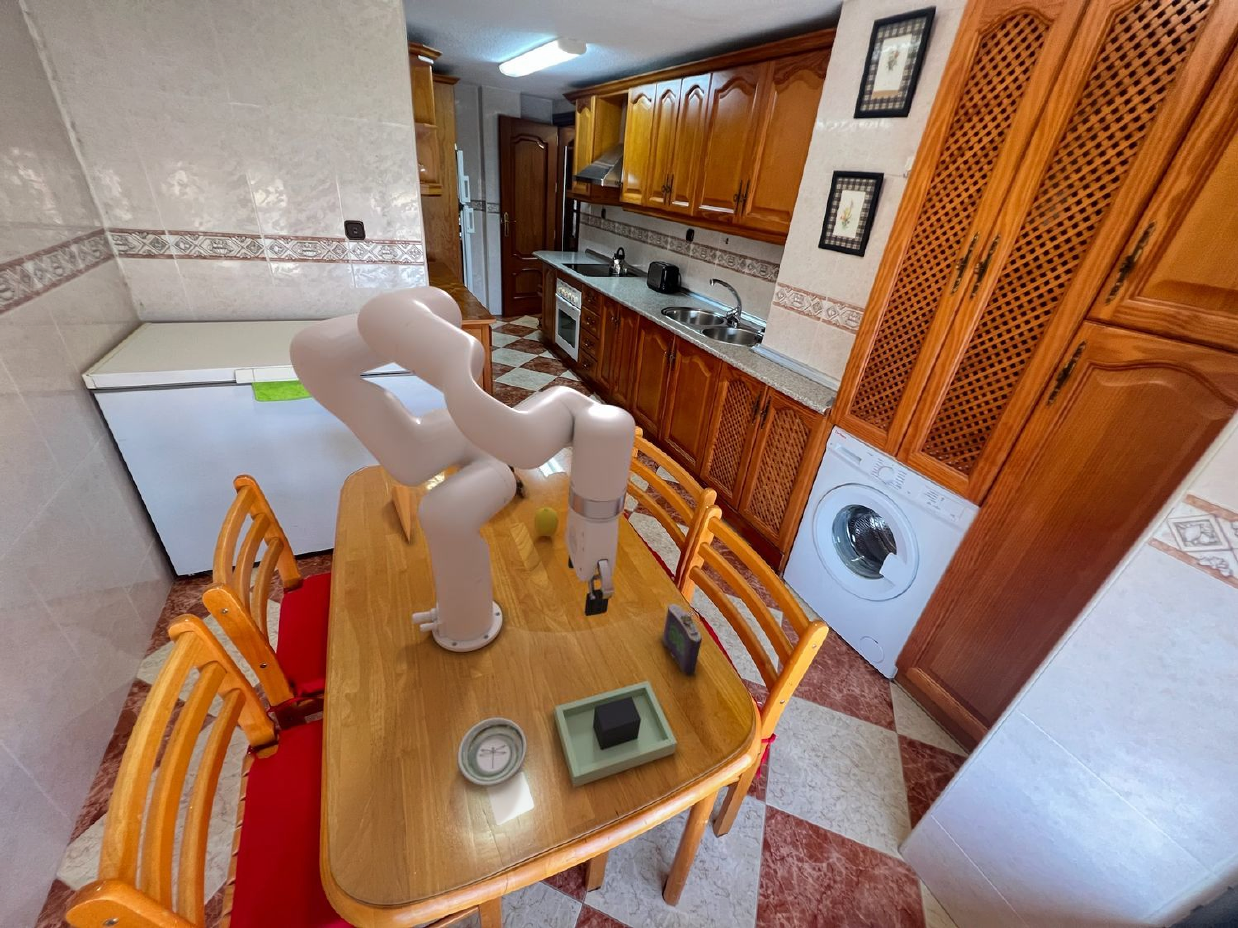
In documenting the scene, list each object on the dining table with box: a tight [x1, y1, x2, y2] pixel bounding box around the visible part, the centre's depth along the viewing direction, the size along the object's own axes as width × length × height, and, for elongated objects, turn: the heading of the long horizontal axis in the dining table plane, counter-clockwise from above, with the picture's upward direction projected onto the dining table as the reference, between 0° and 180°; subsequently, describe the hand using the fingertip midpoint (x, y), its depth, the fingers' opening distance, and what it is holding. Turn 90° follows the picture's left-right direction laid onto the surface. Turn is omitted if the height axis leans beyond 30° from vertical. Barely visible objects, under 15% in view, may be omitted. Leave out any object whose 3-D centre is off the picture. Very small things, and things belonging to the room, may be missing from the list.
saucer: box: [457, 717, 528, 787], centre depth 72 cm, size 10×10×2 cm
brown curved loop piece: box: [508, 465, 526, 498], centre depth 130 cm, size 12×10×8 cm
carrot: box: [390, 483, 412, 543], centre depth 117 cm, size 20×4×4 cm, turn 26°
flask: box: [661, 603, 703, 677], centre depth 88 cm, size 9×3×11 cm, turn 26°
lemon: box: [533, 506, 559, 537], centre depth 115 cm, size 6×6×8 cm
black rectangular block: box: [593, 696, 641, 750], centre depth 75 cm, size 6×4×5 cm, turn 110°
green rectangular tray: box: [554, 680, 678, 788], centre depth 76 cm, size 16×11×3 cm
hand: (586, 588), depth 75 cm, fingers open, 9 cm apart
